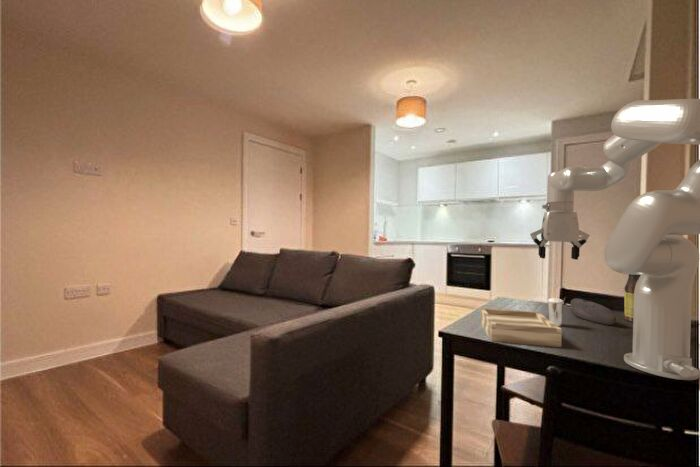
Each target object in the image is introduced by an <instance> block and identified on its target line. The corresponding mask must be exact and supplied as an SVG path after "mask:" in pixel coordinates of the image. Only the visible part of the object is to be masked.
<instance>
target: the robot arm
mask: <svg viewBox="0 0 700 467" xmlns="http://www.w3.org/2000/svg"><path fill="white" fill-rule="evenodd" d="M610 129H611V131H612V133H613V135H612V136H611V137H609V138H608V139H606V140H605V141H604V144H603V146H602V147H603V148H602V149H603V153H604V155H605V157H606V158H607V160H608V161H607V162H605V163H604V164H602V165H600V166H585V165H584V166H579V165H578V166H567V167H564V168H563V169H561V170H556V171H552V172H550V173H549V174H548V175H547V183H546V184H547V186H546V187H547V188H546V189H547V191H546V204H542V205H541V209H543V210H544V209H545V212H544V214H543V217H542V222H541V227H540V229H538V230H536V231H533V232H531V233H530V237H531V239H532V241H533V242H534V244H536V246H538V253H537V255H538V256H539V259H543V260H544V259H546V250H547V249H546V248H547V247H546V246H545V245H546V244H547V243H548V242H555V243H556V242H559V243H560V242H561V243H564V242H565V243H570V244H571V245H572V247H571V252H570V253H571V255H570V256H571V257H570V258H571V259H572V260H578V259H579V258H580V249H581V248H582V246H583V245H584V244H586V243H587V240H588V239H589V237H590V235H589V234H588V233H587V232H585V231H583V230H580V226H579V224H580V223H579V218H578V213H577V211H574V208H575V206H574V204H575V202H574V201H575V200H574V199H575V192H581V191H582V192H599V191H602V190H605V189H609V187H611V186H613V185H615V184H617V183H618V182H621V181H622V180H623V179H624V178H625V177H626V176H627V175H628V174H629V172H630V171H631V169H632V167H633V164H634V161H637V160H638V159H639V158H641V157H643V156H645V155H646V154H648V153H649V152H651V151H653V150H654V149H656V148H657V147H659V146H661V145H662V144H663V143H664V144H672V145H673V144H674V145H696V146H697V145H699V146H700V98H674V99H653V100H652V99H650V100H645V99H638V100H634V101H631V102H629V103H627V104H625V105H623V107H621V108H620V109H619V110H617V112H616V113H615V114H614V116H613V118H612V120H611V123H610ZM539 235H540V239H538V237H537V236H539ZM693 235H700V159H698V160H697V161H696V162H695V163H694V164H693V165H692V166H691V167H690V168H689V169H688V171H687V173H686V174H685V176H684V178H683V179H682V180H681V182H680V184H678V186H677V187H675V189H672V190H669V189H668V190H665V189H663V190H662V189H661V190H652V191H647V192H644V193H642V194H639V196H637V197H636V198H634V199H633V200H632V201H631V202H630V203H629V205H627V207H626V208H625V211H624V212H623V213H622V215H621V217H620V219H619V221H618V223H617V224H616V226H615V228H614V230H613V231H612V233H611V235H610V237H609V239H608V240H607V242H606V245H605V248H604V253H603V254H604V255H603V256H604V261H605V262H606V264H607V266H608V267H609V268H610V269H611V271H612V270H613V271H615V272H616V273H619V274H624V275H629V274H631V275H641V276H640V277H639V279H638V281H637V283H636V286H635V290H634V311H633V322H632V352H628V353H625V354H624V355H623V360H624V362H625V363H626V364H627V365H629V366H631V367H633V368H634V369H637V370H639V371H641V372H645V373H646V374H647V373H648V374H651V375H654V376H659V377H663V378H665V379H666V378H668V379H672V380H673V379H674V380H679V381H680V380H682V381H696V380H698V379H700V375H699V374H700V370H699V369H698V368H696V367H694V366H693V358H692V357H691V332H692V331H691V330H692V328H691V325H692V304H693V303H692V301H693V288H694V286H693V285H694V281H695V277H696V274H697V270H698V268H699V265H700V264H699V262H700V253H699V249H698V247H697V246H696V244H695V243H694V242H693V241H692V240H690V239H688V238H687V237H685V236H693ZM580 236H581V239H580ZM578 261H579V260H578Z"/></svg>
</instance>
